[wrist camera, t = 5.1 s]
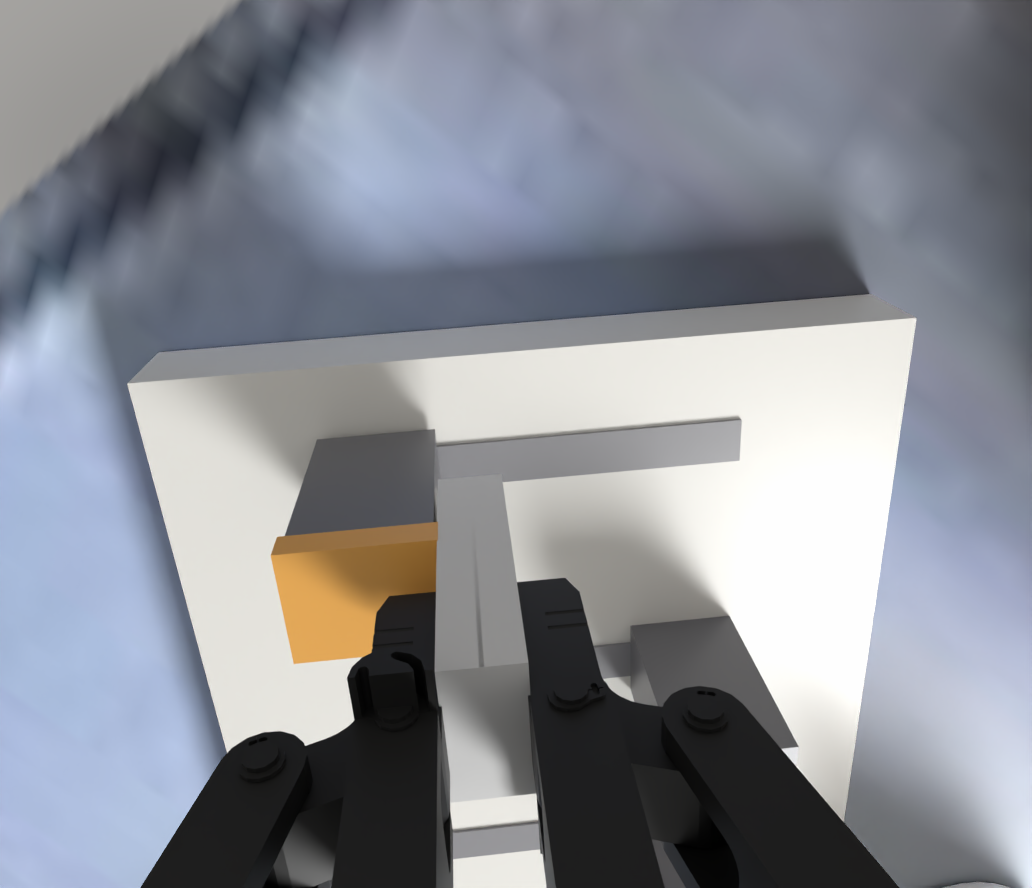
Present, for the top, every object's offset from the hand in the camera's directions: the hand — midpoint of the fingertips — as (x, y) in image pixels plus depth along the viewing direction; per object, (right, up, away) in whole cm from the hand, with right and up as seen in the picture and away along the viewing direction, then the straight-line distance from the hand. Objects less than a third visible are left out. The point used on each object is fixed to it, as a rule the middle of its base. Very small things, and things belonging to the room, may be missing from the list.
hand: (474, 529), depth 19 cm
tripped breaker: (-3, +1, +3) cm, 4 cm away
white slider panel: (+2, -4, +8) cm, 9 cm away
